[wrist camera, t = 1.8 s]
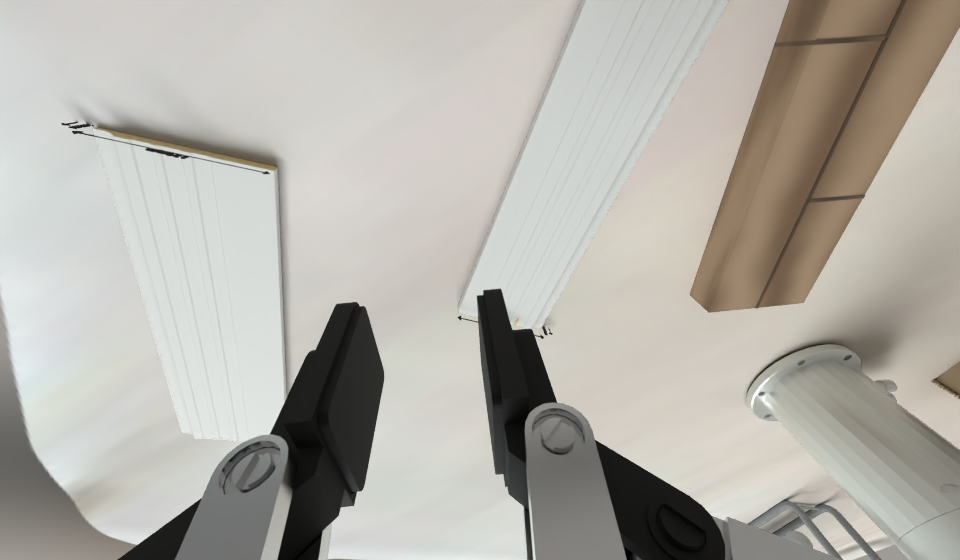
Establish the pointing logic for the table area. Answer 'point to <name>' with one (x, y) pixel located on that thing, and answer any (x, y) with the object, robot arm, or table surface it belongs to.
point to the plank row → (817, 142)
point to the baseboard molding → (205, 277)
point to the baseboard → (585, 145)
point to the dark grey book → (950, 381)
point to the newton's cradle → (811, 527)
